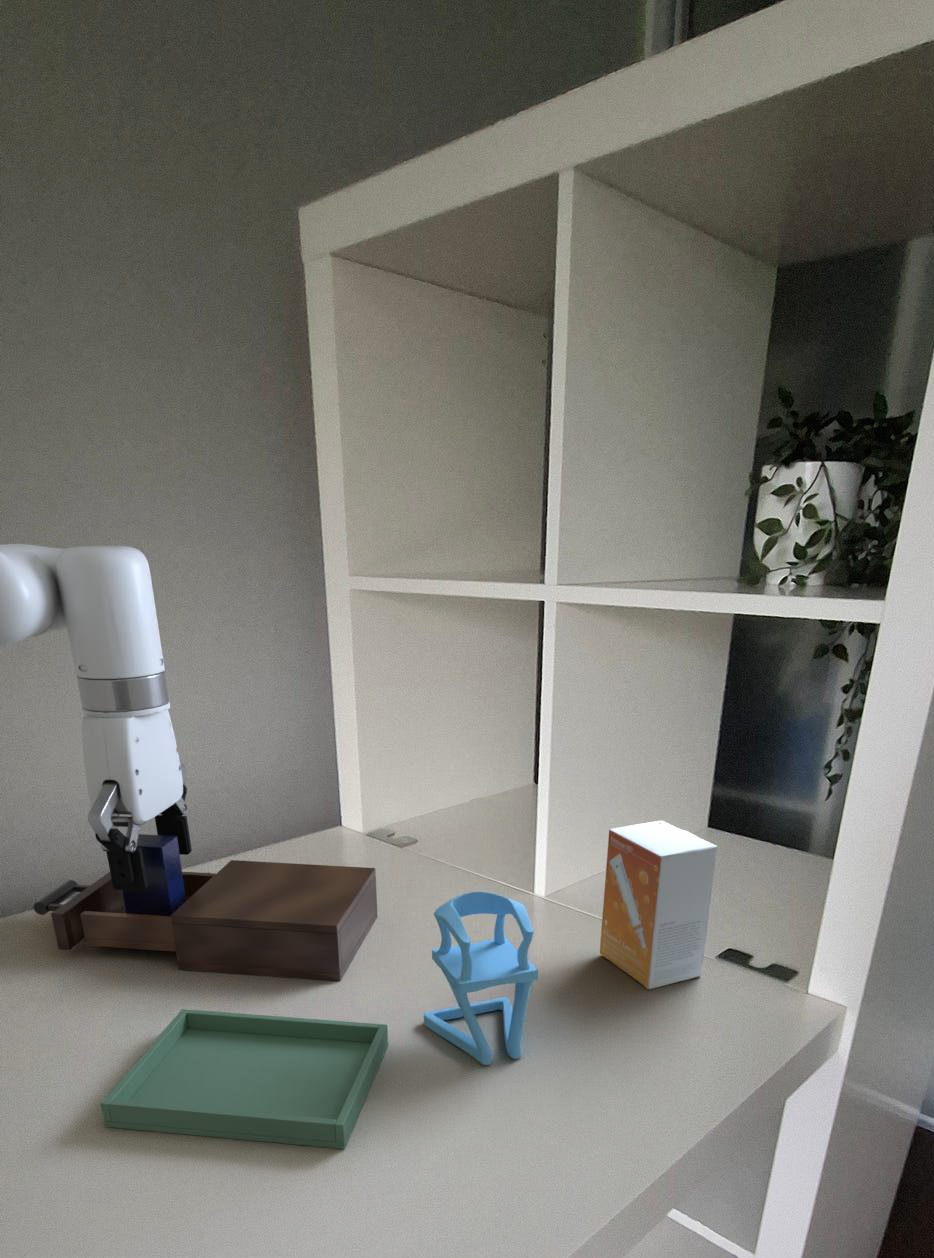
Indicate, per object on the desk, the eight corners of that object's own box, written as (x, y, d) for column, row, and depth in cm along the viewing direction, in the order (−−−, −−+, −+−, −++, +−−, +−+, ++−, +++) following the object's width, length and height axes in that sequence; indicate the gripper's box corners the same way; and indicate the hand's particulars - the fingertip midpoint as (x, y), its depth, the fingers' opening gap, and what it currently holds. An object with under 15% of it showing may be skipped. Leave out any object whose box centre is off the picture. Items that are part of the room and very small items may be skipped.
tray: (104, 1127, 63) (99, 1103, 62) (185, 1029, 75) (182, 1008, 74) (344, 1149, 61) (343, 1125, 60) (388, 1045, 73) (387, 1024, 72)
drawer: (16, 947, 87) (7, 910, 85) (88, 894, 99) (82, 861, 97) (203, 960, 85) (198, 923, 83) (254, 904, 97) (250, 870, 95)
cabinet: (178, 969, 85) (170, 915, 82) (236, 908, 98) (231, 859, 96) (340, 981, 83) (336, 925, 81) (377, 917, 96) (375, 867, 94)
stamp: (125, 921, 90) (112, 845, 86) (142, 907, 93) (130, 833, 90) (173, 924, 89) (162, 847, 86) (189, 910, 92) (178, 835, 89)
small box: (597, 955, 88) (606, 827, 83) (651, 943, 91) (663, 818, 85) (647, 991, 82) (661, 855, 76) (703, 977, 84) (720, 844, 79)
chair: (457, 1073, 69) (456, 931, 64) (422, 1021, 76) (419, 890, 71) (547, 1053, 72) (553, 915, 67) (506, 1005, 79) (508, 877, 74)
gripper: (131, 677, 90) (158, 840, 97) (31, 712, 75) (72, 903, 82) (203, 678, 89) (225, 842, 96) (116, 714, 74) (150, 907, 81)
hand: (154, 870), depth 89 cm, fingers open, 9 cm apart
